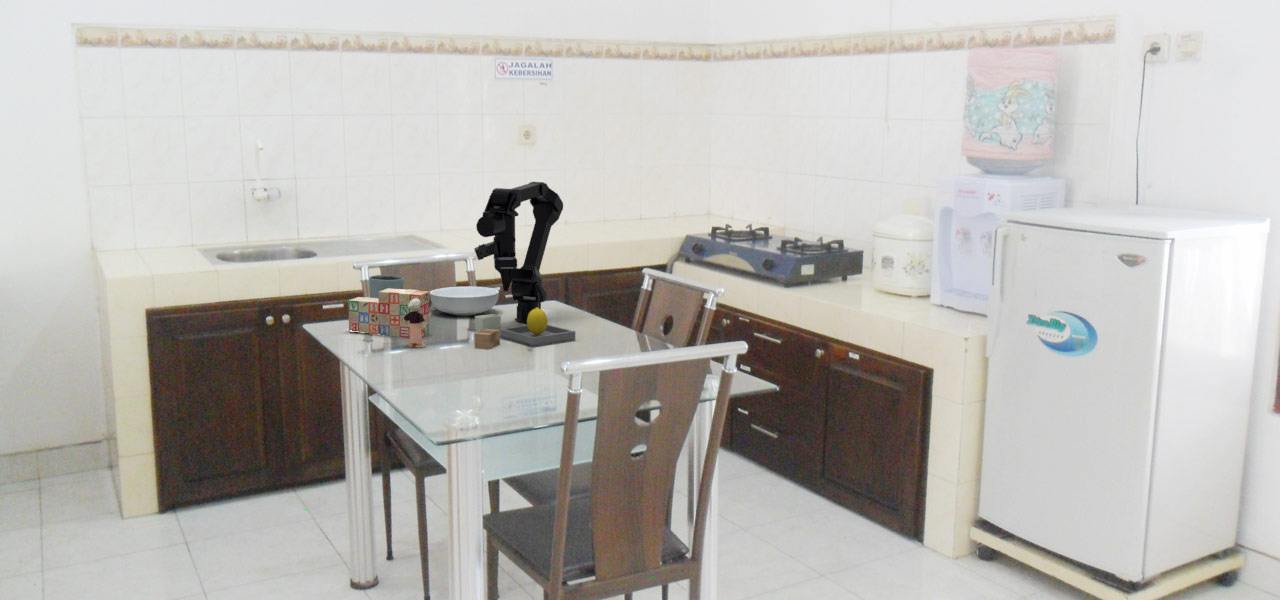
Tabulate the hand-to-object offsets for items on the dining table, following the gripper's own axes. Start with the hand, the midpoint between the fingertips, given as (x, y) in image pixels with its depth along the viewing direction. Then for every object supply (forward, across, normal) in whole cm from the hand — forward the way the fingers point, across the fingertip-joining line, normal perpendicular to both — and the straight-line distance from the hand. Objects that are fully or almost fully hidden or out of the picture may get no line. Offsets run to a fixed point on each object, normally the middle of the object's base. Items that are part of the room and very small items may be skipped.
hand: (505, 288), depth 306 cm
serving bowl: (+12, -25, -12) cm, 30 cm away
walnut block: (+12, +23, -5) cm, 26 cm away
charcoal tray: (+12, +15, +8) cm, 21 cm away
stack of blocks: (+12, +6, -32) cm, 35 cm away
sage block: (+12, +1, -5) cm, 13 cm away
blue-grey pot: (+12, -19, -34) cm, 41 cm away
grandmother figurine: (+11, +23, -24) cm, 35 cm away
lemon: (+11, +15, +8) cm, 20 cm away
